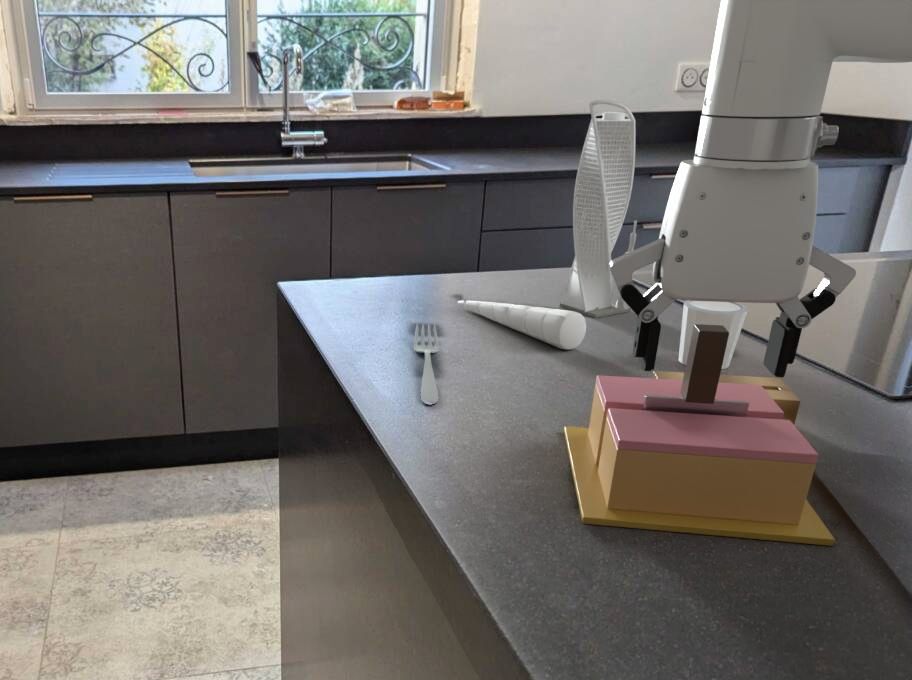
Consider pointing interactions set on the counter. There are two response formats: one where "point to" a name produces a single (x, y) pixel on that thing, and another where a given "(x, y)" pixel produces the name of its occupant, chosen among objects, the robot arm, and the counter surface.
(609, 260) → the skyscraper
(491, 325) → the counter surface
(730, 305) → the shot glass
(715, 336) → the knife
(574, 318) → the unicorn horn
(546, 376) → the counter surface
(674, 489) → the cake
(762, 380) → the knife stand
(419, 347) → the fork
